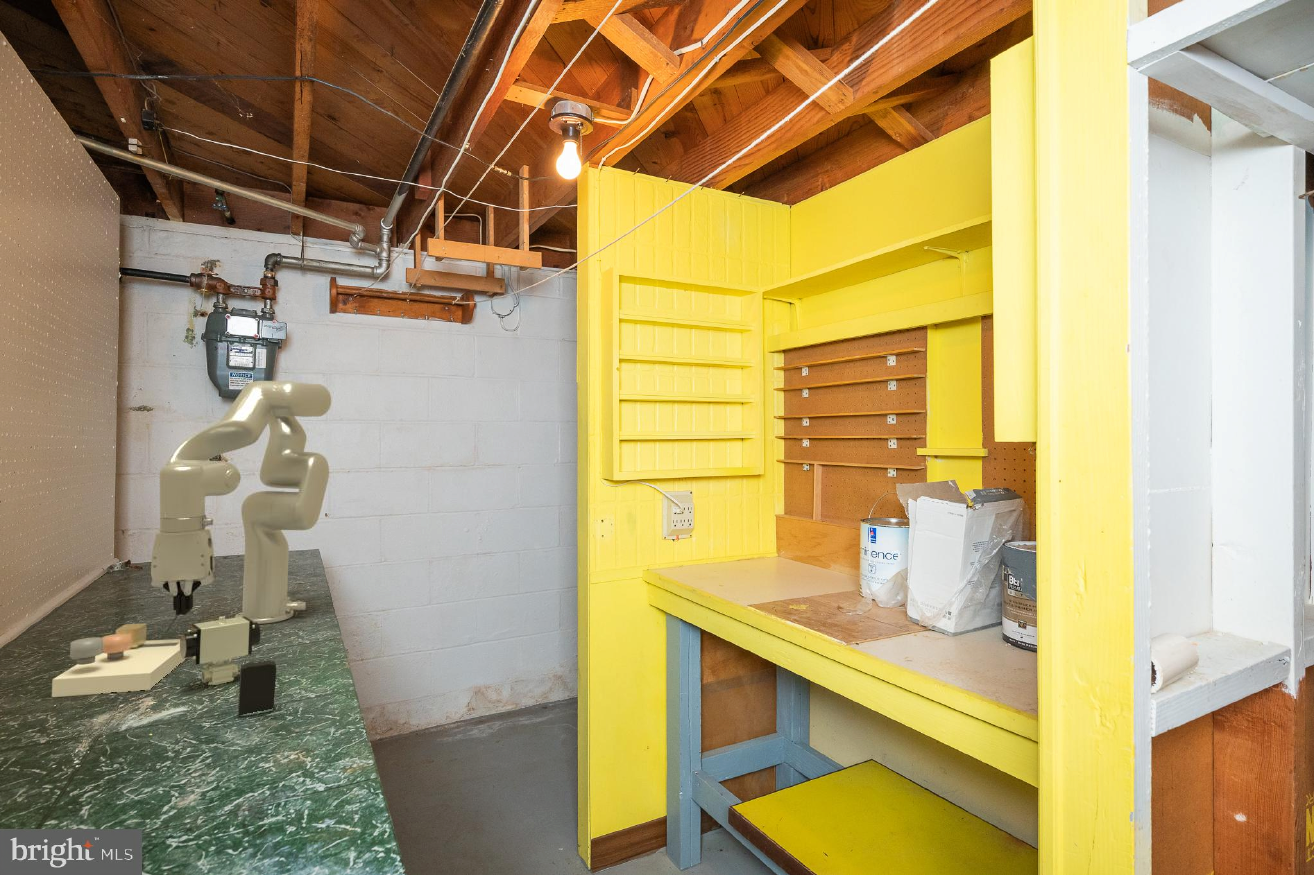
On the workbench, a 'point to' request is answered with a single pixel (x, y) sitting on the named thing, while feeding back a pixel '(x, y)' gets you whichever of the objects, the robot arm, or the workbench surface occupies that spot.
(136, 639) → the brass slider
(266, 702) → the ink cartridge
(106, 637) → the terracotta button
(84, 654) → the grey button
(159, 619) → the workbench surface
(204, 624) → the pneumatic valve
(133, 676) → the control panel
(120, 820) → the workbench surface
